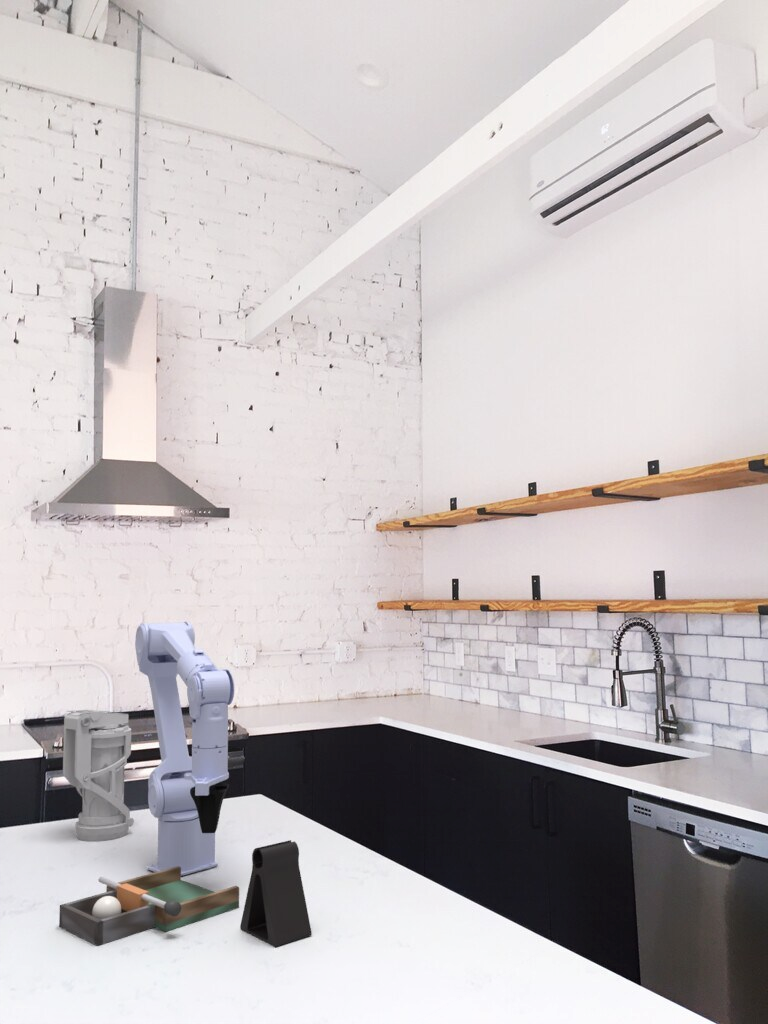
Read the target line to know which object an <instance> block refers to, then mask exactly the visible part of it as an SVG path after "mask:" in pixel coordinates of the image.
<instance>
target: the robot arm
mask: <svg viewBox="0 0 768 1024" xmlns="http://www.w3.org/2000/svg"><path fill="white" fill-rule="evenodd" d="M194 629H195V628H194V627H193V625H192V624H191V622H189V621H183V622H156V623H155V622H152V623H151V622H150V623H146V622H141V623H140V624H139V625H138V626H137V628H136V632H135V640H134V641H135V642H134V645H135V653H136V660H137V665H138V669H139V673H141V674H144V675H145V676H147V679H148V683H149V687H150V692H151V700H152V706H153V712H154V719H155V726H156V734H157V740H158V746H159V754H160V759H161V763H160V764H159V765H157V766H156V767H155V768H154V769H153V770H152V772H151V773H150V775H149V778H148V781H147V783H148V784H147V786H148V791H147V792H148V793H147V798H148V799H147V802H148V808H149V811H150V813H151V815H152V816H153V817H154V818H157V819H158V821H157V822H158V823H157V863H154V864H151V865H147V867H146V869H147V870H149V871H151V872H152V873H155V872H159V871H162V870H166V869H170V868H173V867H177V866H179V867H181V877H182V876H183V877H184V876H187V875H189V874H193V873H197V872H201V871H203V870H207V869H210V868H214V867H218V862H216V832H217V828H218V825H219V822H220V815H221V809H222V806H223V802H224V798H225V795H226V794H227V791H228V789H229V783H227V782H223V781H226V780H228V779H229V778H230V773H229V771H228V768H229V767H228V766H229V764H228V763H229V761H228V760H229V759H228V757H229V755H228V754H229V752H228V751H229V706H230V705H231V704H232V702H233V701H234V697H235V680H234V676H233V674H232V673H231V670H230V669H228V668H225V669H222V668H221V669H219V668H218V667H217V665H216V664H215V663H214V662H213V661H212V659H211V658H210V657H209V655H208V654H207V653H206V652H205V651H204V650H203V649H202V648H196V647H195V639H196V637H195V630H194ZM178 675H179V677H180V678H181V680H182V681H183V683H184V684H185V686H186V687H187V688H186V694H187V695H186V696H187V701H188V704H189V705H188V706H189V717H190V718H191V719H192V722H191V723H192V727H191V729H192V730H191V735H192V736H191V756H190V755H189V754H190V753H189V748H188V742H187V735H186V731H185V730H186V729H185V724H184V719H183V718H184V717H183V713H182V712H183V711H182V706H181V705H182V704H181V700H180V694H179V693H180V692H179V688H178V682H177V677H178ZM222 782H223V783H222Z"/></svg>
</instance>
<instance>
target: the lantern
mask: <svg viewBox="0 0 768 1024" xmlns="http://www.w3.org/2000/svg"><path fill="white" fill-rule="evenodd" d="M66 712H68V713H67V714H65V716H64V719H63V723H64V724H63V748H62V749H63V754H62V775H63V777H64V778H65V779H66V781H67V782H68V783H69V784H70V786H73V787H75V789H76V791H77V794H79V795H80V797H81V798H82V799H81V800H82V806H81V807H82V809H81V812H79V814H78V821H76V822H75V824H74V826H75V833H76V837H77V839H79V840H80V841H86V842H103V841H111V840H116V839H119V838H122V837H125V836H126V835H127V834H128V831H129V827H130V828H131V827H132V826H133V825H135V824H134V823H135V819H134V818H132V817H130V816H131V811H130V809H129V807H128V806H127V805H126V804H125V802H124V800H125V798H124V797H125V767H126V765H127V764H128V763H127V761H128V760H127V759H129V757H130V756H131V754H132V728H131V727H130V726H129V713H122V712H114V711H110V712H108V711H106V710H105V711H104V710H95V709H76V710H66Z"/></svg>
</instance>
